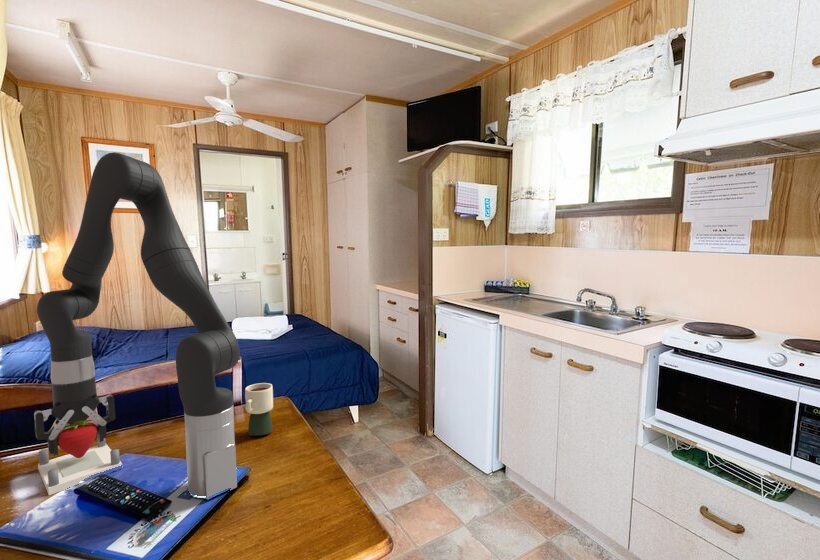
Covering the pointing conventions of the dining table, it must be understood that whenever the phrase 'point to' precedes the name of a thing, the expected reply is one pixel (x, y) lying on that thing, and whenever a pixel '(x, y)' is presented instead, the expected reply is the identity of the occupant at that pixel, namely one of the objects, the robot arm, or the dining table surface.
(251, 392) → the character mug
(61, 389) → the robot arm
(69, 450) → the strawberry
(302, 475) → the dining table surface
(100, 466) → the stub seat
